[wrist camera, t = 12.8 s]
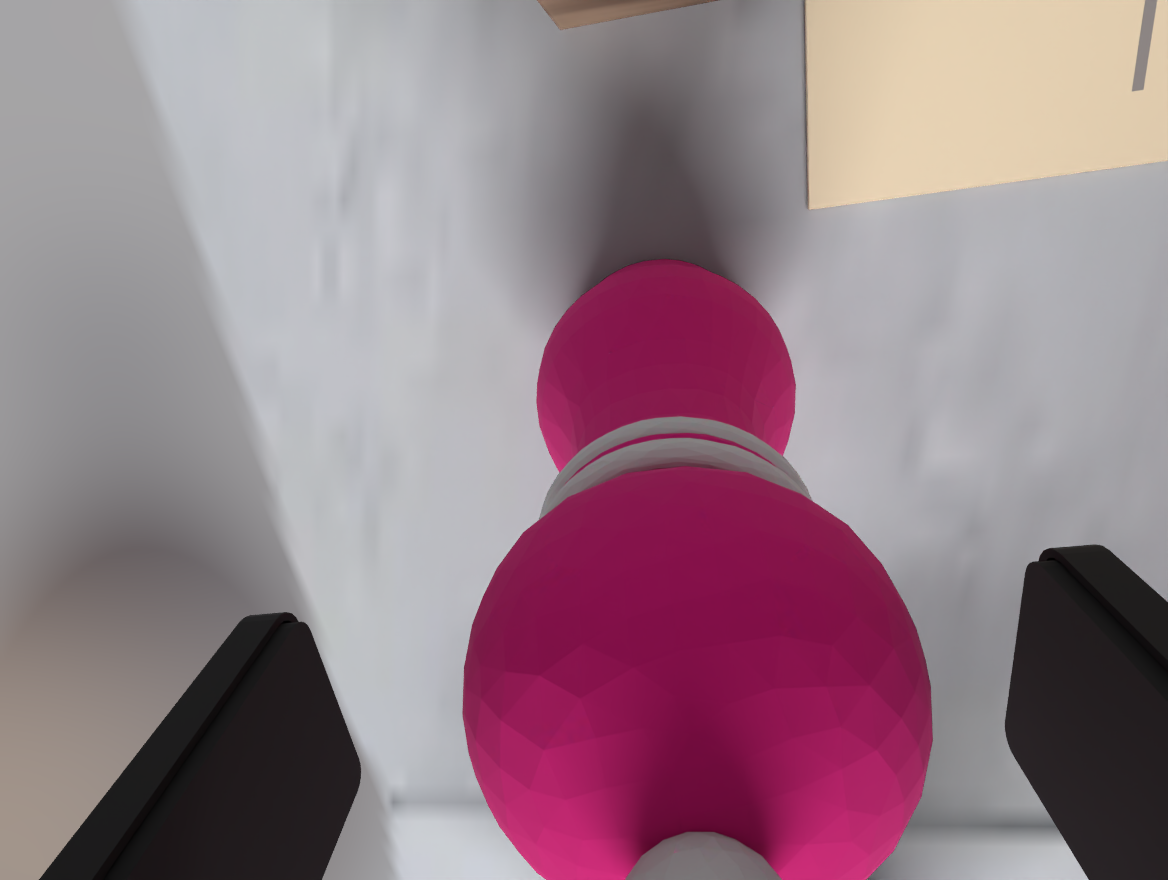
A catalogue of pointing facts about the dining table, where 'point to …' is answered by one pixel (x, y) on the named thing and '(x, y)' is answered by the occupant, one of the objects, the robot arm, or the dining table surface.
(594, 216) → the dining table surface
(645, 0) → the block
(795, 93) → the dining table surface
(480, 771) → the pepper mill
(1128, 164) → the letter
